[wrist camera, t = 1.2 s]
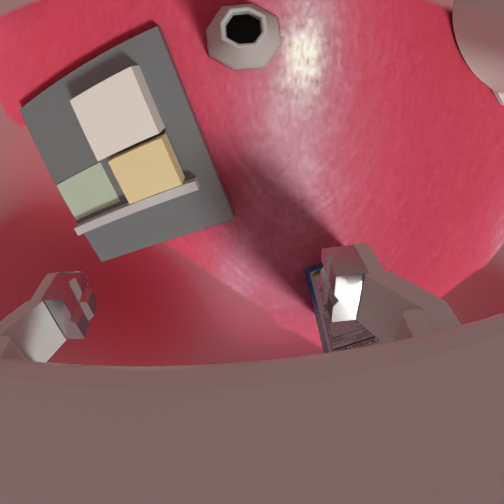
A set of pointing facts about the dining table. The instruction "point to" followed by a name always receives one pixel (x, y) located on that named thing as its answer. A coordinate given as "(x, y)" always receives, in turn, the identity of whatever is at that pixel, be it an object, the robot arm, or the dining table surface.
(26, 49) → the dining table surface
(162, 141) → the stub
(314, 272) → the milk carton
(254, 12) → the flask
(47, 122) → the ticket board
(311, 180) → the dining table surface
